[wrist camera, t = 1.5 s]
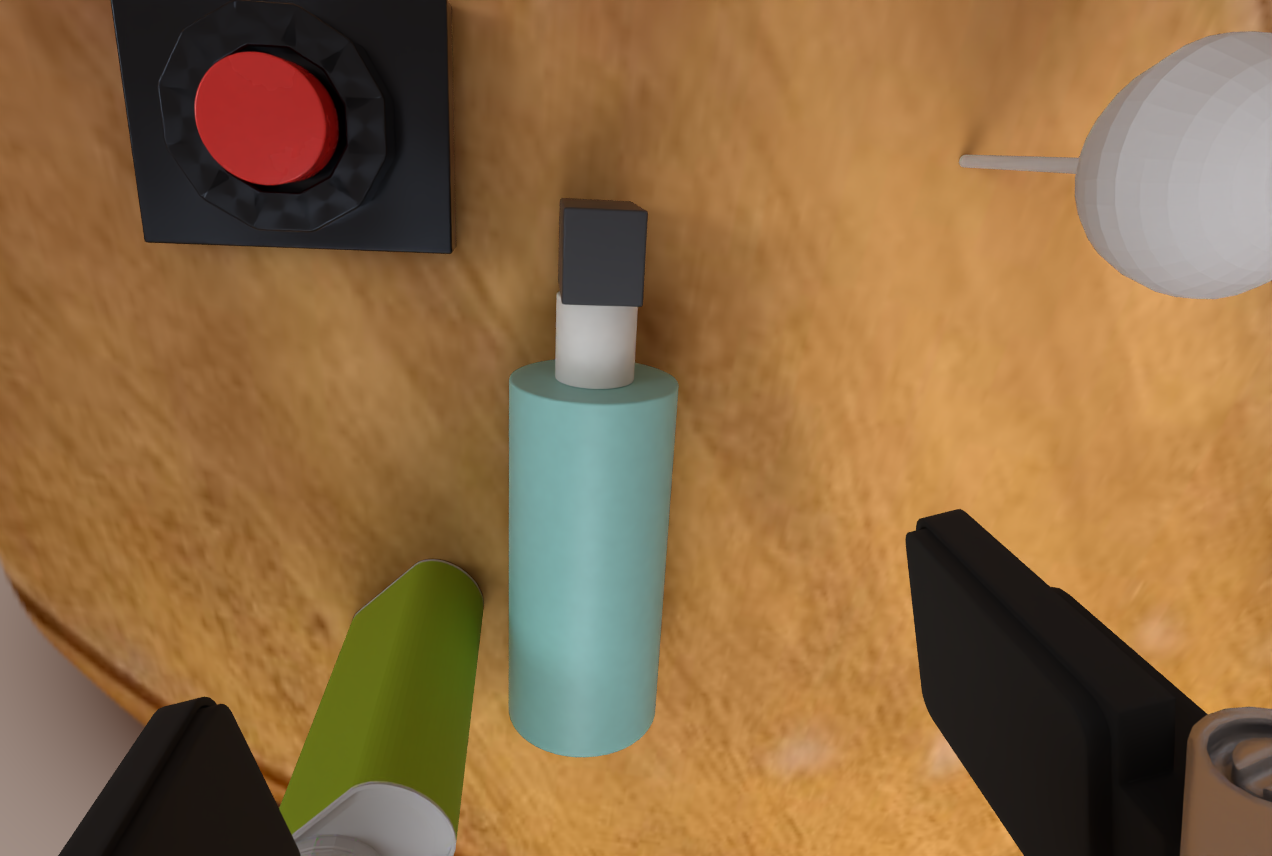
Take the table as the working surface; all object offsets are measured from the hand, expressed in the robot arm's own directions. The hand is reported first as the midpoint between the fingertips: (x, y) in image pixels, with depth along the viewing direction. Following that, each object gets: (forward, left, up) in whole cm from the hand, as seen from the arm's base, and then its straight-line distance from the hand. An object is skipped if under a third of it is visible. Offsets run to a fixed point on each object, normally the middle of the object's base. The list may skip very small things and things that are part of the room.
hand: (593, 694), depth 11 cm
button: (-9, +7, -19) cm, 22 cm away
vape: (-6, -12, -22) cm, 26 cm away
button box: (-9, +7, -22) cm, 24 cm away
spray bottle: (+1, -15, -19) cm, 24 cm away
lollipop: (+15, +7, -22) cm, 28 cm away
